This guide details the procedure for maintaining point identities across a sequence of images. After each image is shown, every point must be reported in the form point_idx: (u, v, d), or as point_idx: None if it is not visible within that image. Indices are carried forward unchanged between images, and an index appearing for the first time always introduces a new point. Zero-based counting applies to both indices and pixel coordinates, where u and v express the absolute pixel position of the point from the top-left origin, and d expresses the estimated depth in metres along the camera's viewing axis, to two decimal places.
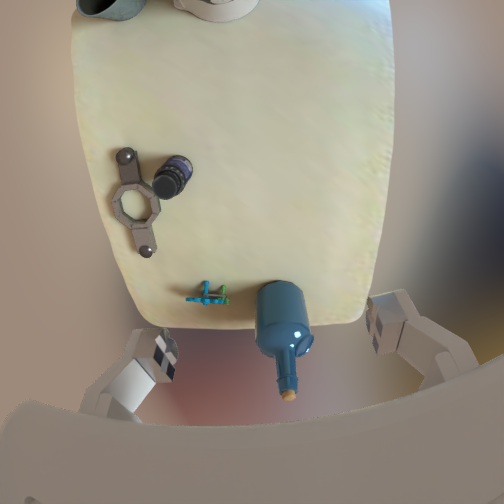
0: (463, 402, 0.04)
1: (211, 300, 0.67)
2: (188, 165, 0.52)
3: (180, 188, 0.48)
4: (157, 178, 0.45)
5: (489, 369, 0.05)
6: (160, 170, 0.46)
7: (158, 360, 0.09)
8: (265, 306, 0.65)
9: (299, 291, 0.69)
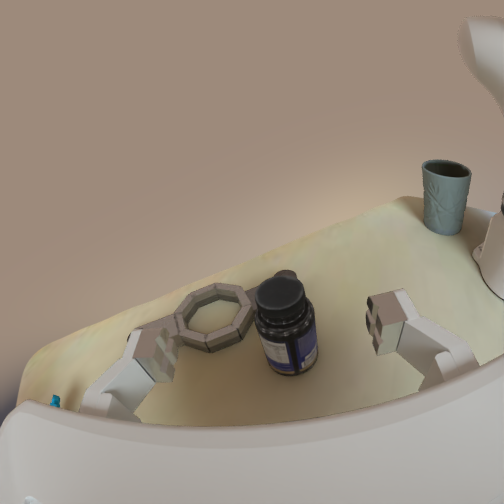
0: (463, 402, 0.04)
1: None
2: (311, 356, 0.28)
3: (280, 329, 0.25)
4: (291, 278, 0.27)
5: (489, 369, 0.05)
6: None
7: (158, 360, 0.09)
8: None
9: None
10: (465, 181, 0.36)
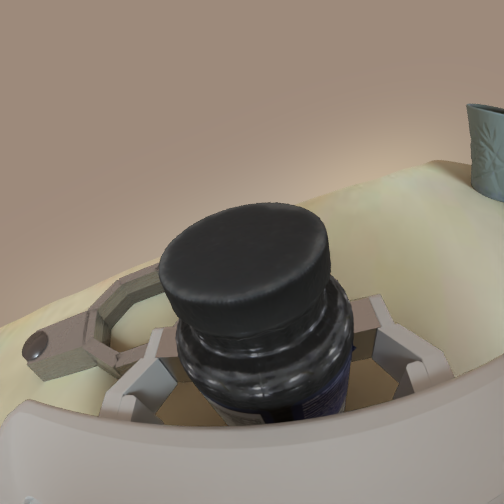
0: (463, 403, 0.04)
1: None
2: None
3: (242, 375, 0.07)
4: (283, 206, 0.09)
5: (489, 369, 0.05)
6: None
7: None
8: None
9: None
10: None
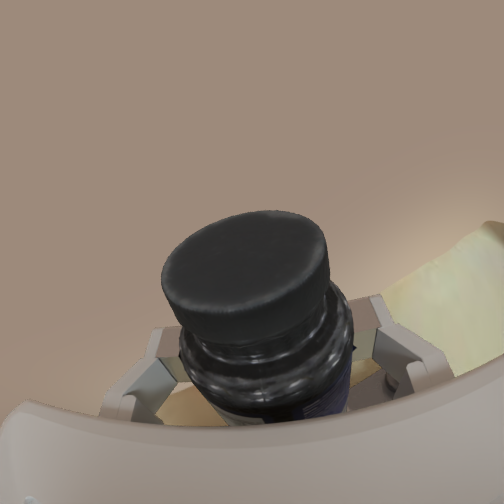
0: (463, 402, 0.04)
1: None
2: None
3: (244, 381, 0.07)
4: (284, 214, 0.09)
5: (489, 369, 0.05)
6: None
7: None
8: None
9: None
10: None
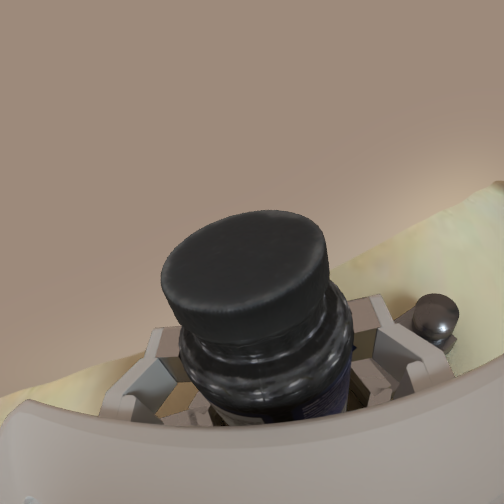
0: (463, 402, 0.04)
1: None
2: None
3: (243, 381, 0.07)
4: (283, 214, 0.09)
5: (489, 369, 0.05)
6: None
7: None
8: None
9: None
10: None
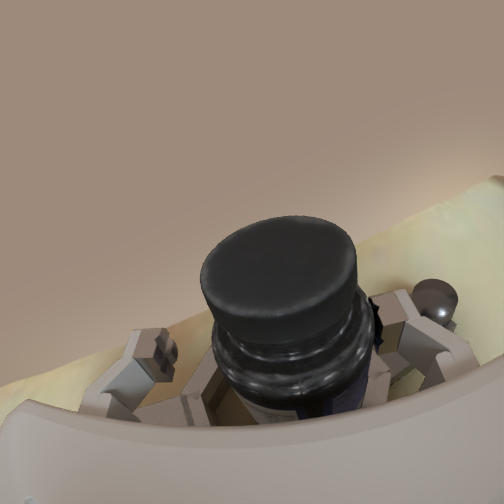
0: (463, 402, 0.04)
1: None
2: None
3: (283, 377, 0.07)
4: (311, 220, 0.09)
5: (489, 369, 0.05)
6: None
7: (157, 360, 0.09)
8: None
9: None
10: None
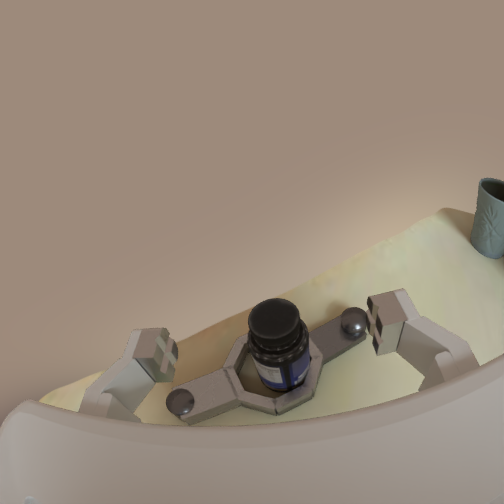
0: (463, 403, 0.04)
1: None
2: (304, 374, 0.28)
3: (275, 355, 0.24)
4: (286, 302, 0.26)
5: (489, 369, 0.05)
6: None
7: (158, 360, 0.09)
8: None
9: None
10: None
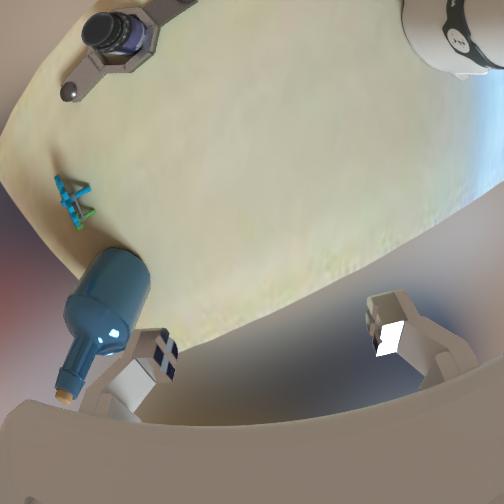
0: (463, 402, 0.04)
1: (73, 212, 0.38)
2: (142, 42, 0.28)
3: (107, 48, 0.23)
4: (104, 14, 0.19)
5: (489, 369, 0.05)
6: (117, 13, 0.21)
7: (157, 360, 0.09)
8: (107, 273, 0.42)
9: (148, 288, 0.51)
10: None
